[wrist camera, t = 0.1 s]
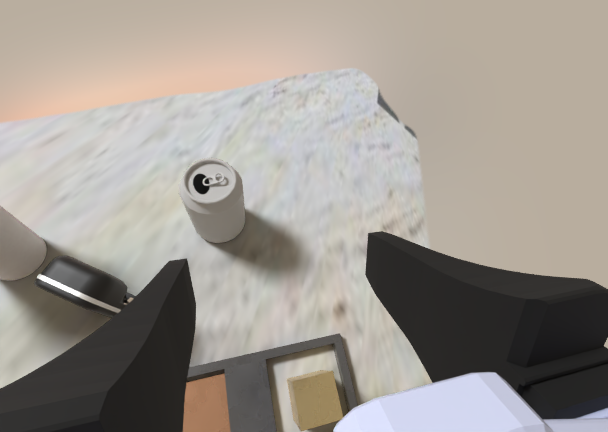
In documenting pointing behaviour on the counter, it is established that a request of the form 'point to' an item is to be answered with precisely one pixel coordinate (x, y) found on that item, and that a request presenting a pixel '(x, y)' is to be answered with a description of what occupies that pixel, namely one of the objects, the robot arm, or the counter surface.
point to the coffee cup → (18, 248)
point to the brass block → (314, 399)
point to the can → (213, 199)
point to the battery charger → (84, 286)
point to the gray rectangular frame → (247, 390)
